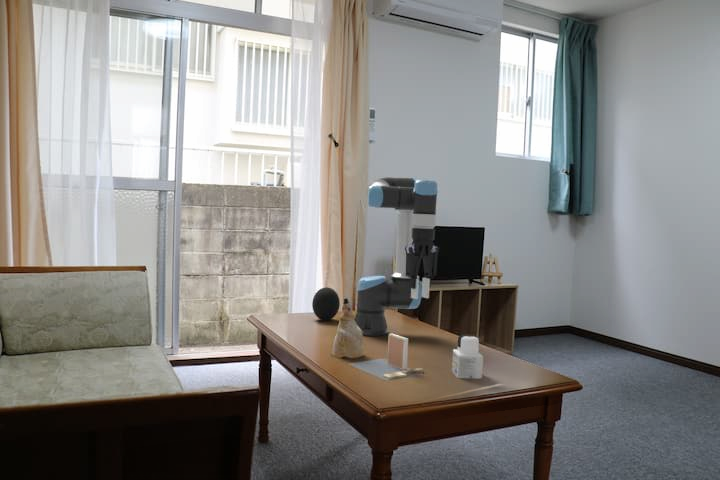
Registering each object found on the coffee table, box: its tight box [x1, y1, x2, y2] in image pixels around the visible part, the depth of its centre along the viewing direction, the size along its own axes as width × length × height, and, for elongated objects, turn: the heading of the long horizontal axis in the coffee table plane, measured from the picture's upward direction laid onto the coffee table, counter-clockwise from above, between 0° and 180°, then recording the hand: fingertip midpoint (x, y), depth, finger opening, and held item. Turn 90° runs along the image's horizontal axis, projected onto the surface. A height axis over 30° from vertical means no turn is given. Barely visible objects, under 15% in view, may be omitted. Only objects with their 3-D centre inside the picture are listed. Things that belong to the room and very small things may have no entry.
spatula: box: [383, 367, 425, 380], centre depth 174 cm, size 15×3×1 cm, turn 126°
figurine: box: [330, 297, 365, 359], centre depth 195 cm, size 12×10×20 cm
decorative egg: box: [311, 287, 341, 322], centre depth 255 cm, size 12×12×15 cm
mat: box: [348, 357, 424, 381], centre depth 180 cm, size 15×20×1 cm
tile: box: [386, 333, 409, 370], centre depth 182 cm, size 2×8×10 cm, turn 36°
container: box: [451, 334, 484, 380], centre depth 177 cm, size 8×8×13 cm
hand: (419, 297), depth 186 cm, fingers open, 4 cm apart
